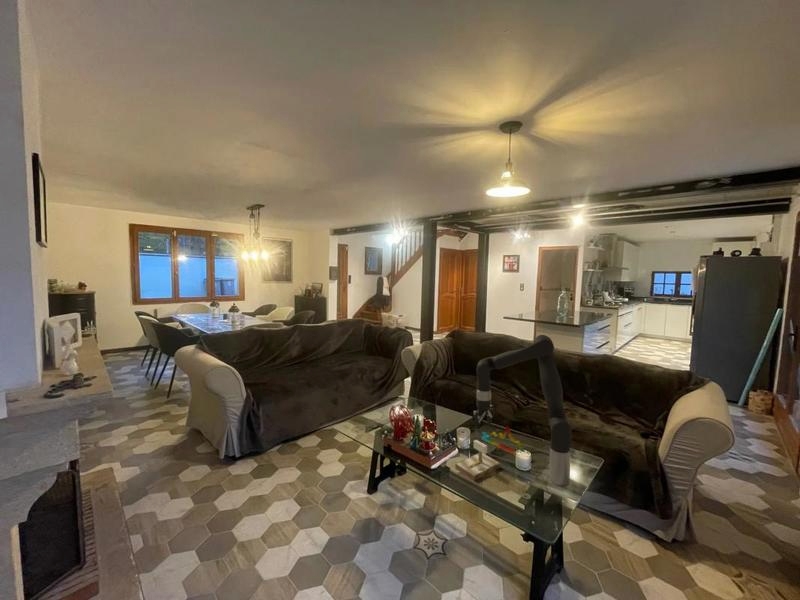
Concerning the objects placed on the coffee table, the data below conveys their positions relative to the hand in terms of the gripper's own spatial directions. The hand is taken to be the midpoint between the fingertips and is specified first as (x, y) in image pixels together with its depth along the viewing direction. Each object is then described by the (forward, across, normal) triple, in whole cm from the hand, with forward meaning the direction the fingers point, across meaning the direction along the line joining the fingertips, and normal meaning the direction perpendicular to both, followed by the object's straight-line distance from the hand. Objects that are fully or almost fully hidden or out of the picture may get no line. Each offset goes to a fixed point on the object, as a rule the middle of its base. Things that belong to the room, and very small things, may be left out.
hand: (483, 426), depth 187 cm
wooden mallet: (+21, +4, -3) cm, 22 cm away
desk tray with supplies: (+24, +2, -3) cm, 24 cm away
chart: (+25, -24, -7) cm, 35 cm away
